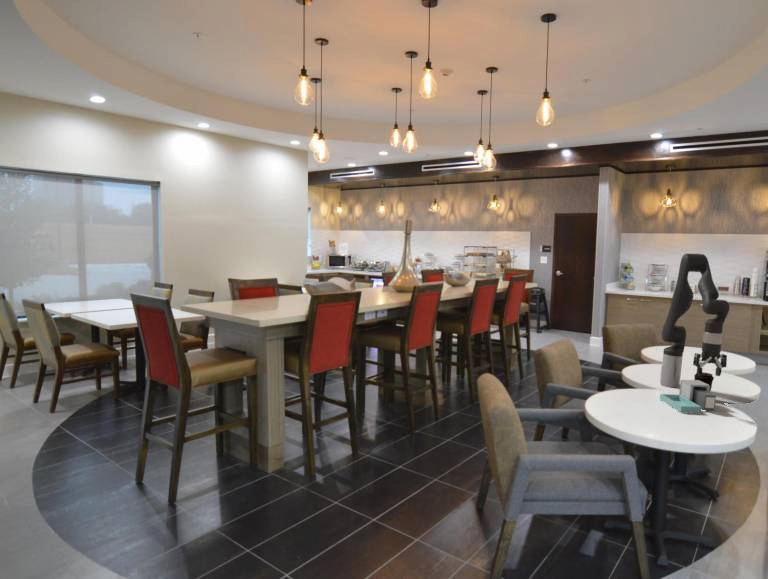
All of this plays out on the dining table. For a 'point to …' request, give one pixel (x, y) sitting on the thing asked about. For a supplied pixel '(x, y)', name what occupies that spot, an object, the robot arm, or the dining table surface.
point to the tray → (680, 403)
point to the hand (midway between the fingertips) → (708, 375)
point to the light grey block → (691, 387)
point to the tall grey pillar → (703, 399)
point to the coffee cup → (705, 378)
